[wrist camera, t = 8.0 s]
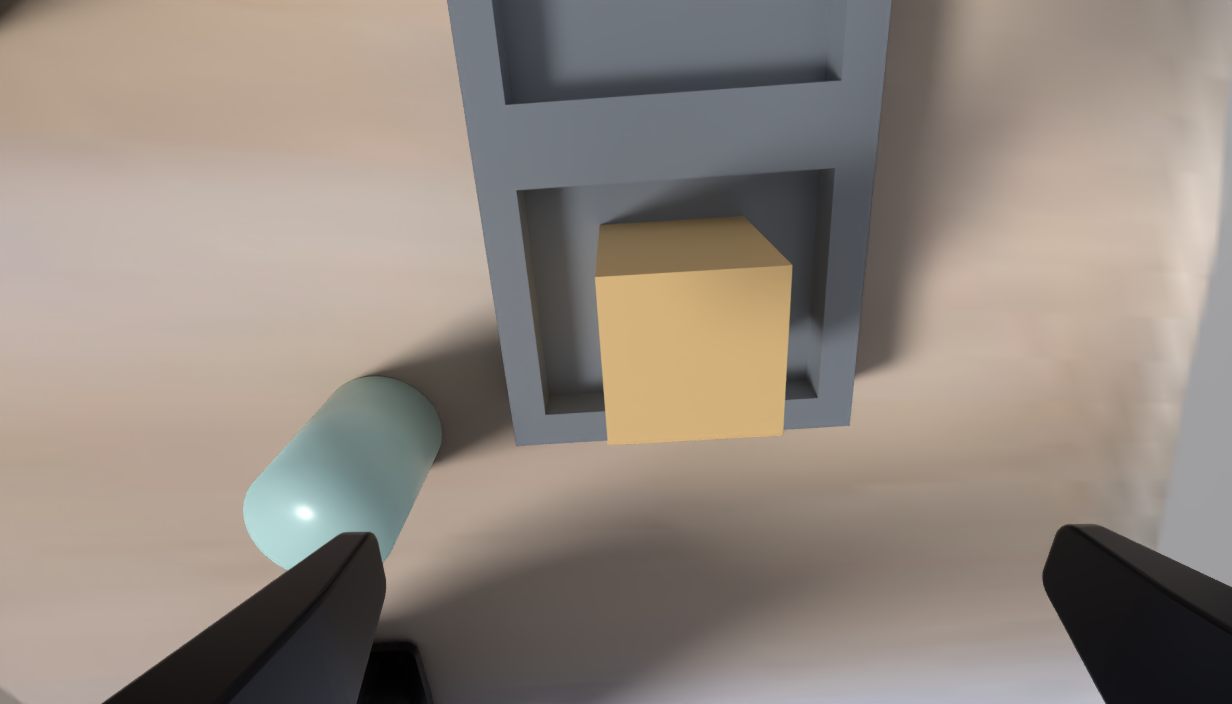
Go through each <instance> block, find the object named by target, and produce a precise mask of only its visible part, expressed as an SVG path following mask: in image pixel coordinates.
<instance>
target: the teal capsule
mask: <svg viewBox="0 0 1232 704" xmlns="http://www.w3.org/2000/svg"><path fill="white" fill-rule="evenodd" d="M441 441H442V426H441V422H440V419H439V416H438V414H437V412H436V410H435V408H434V407H433V405H432V404H431V403H430V402H429V400H428V399H427V398H426V397H425V396H424V395H423V394H422V393H420V392H419V391H418V390H416V389H415V388H413V387H412V386H410V385H408V384H406V383H404V382H402V381H399V380H396V379H392V378H388V377H381V376H368V377H361V378H358V379H354V380H352V381H349V382H347V383H346V384H344V385H342V386H341V387H340V388H338V389H337V390H336V391H335V392H334V394H333V395H332V396H331V397H330V398H329V399H328V400H327V401H326V402H325V404H324V405H323V406H322V407H321V408H320V409H319V410H318V411H317V412H316V414H315V415H314V416H313V417H312V418H311V419H310V420H309V421H308V422H307V424H306V425H305V426H304V427H303V428H302V429H301V430H300V431H299V432H298V434H297V435H296V436H295V437H294V438H293V439H292V440H291V441H290V442H289V443H288V445H287V446H286V447H285V448H284V449H283V450H282V451H281V452H280V453H279V455H278V456H277V457H276V458H275V459H274V460H273V461H272V462H271V463H270V465H269V466H268V467H267V468H266V469H265V470H264V471H263V472H262V473H261V475H260V476H259V477H258V478H257V479H256V480H255V481H254V482H253V483H252V485H251V486H250V488H249V490H248V492H247V494H246V496H245V500H244V505H243V515H244V521H245V525H246V528H247V530H248V532H249V535H250V537H251V538H252V540H253V541H254V543H255V544H256V545H257V547H258V548H259V549H260V550H261V551H262V552H263V553H264V554H265V555H266V556H267V557H268V558H269V559H271V560H272V561H273V562H274V563H276V564H277V565H279V566H281V567H282V568H284V569H286V570H289V569H291V568H292V567H293V566H295V565H296V564H298V563H299V562H300V561H302V560H303V559H305V558H306V557H307V556H309V555H310V554H312V553H313V552H314V551H316V550H317V549H319V548H320V547H321V546H323V545H324V544H326V543H327V542H328V541H330V540H331V539H333V538H334V537H335V536H337V535H339V534H340V533H343V532H372V533H373V534H375V536H376V537H377V540H378V543H379V548H380V553H381V558H382V563H383V562H384V561H385V560H386V559H387V557H388V556H389V554H390V552H391V550H392V548H393V546H394V544H395V542H396V540H397V538H398V536H399V534H400V531H401V529H402V527H403V525H404V523H405V521H406V519H407V517H408V515H409V512H410V510H411V508H412V506H413V504H414V502H415V500H416V498H417V496H418V493H419V491H420V489H421V487H422V485H423V483H424V481H425V479H426V477H427V474H428V472H429V470H430V468H431V466H432V464H433V462H434V460H435V457H436V455H437V453H438V451H439V449H440V446H441Z"/></svg>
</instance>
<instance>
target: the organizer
mask: <svg viewBox="0 0 1232 704" xmlns="http://www.w3.org/2000/svg"><path fill="white" fill-rule="evenodd" d="M891 3H892V0H447V4H448V10H449V16H450V23H451V29H452V36H453V42H454V49H455V55H456V61H457V68H458V74H459V81H460V87H461V94H462V100H463V107H464V113H465V119H466V126H467V132H468V139H469V145H470V152H471V158H472V164H473V171H474V177H475V184H476V190H477V197H478V203H479V210H480V216H481V222H482V229H483V235H484V242H485V248H486V255H487V261H488V267H489V274H490V280H491V287H492V293H493V300H494V306H495V313H496V319H497V325H498V332H499V338H500V345H501V351H502V358H503V364H504V370H505V377H506V383H507V390H508V396H509V403H510V409H511V416H512V422H513V428H514V435H515V441H516V446H524V445H540V444H557V443H573V442H590V441H606V440H607V427H606V414H605V401H604V388H603V375H602V362H601V349H600V336H599V324H598V311H597V298H596V285H595V271H596V259H597V248H598V236H599V225H609V224H625V223H641V222H657V221H673V220H689V219H705V218H721V217H737V216H744V217H745V218H746V219H747V220H748V221H749V222H750V223H751V224H752V225H753V226H754V227H755V228H756V229H757V230H758V231H759V232H760V233H761V234H762V235H763V236H764V237H765V238H766V239H767V240H768V241H769V242H770V243H771V244H772V245H773V246H774V247H775V248H776V249H777V250H778V251H779V252H780V253H781V254H782V255H783V256H784V257H785V258H786V259H787V260H788V261H789V262H790V263H791V264H792V265H793V266H792V283H791V301H790V319H789V336H788V354H787V372H786V390H785V407H784V425H783V430H787V429H803V428H820V427H836V426H850V416H851V406H852V396H853V386H854V376H855V366H856V356H857V346H858V336H859V326H860V315H861V305H862V295H863V285H864V275H865V265H866V255H867V245H868V235H869V225H870V215H871V205H872V194H873V184H874V174H875V164H876V154H877V144H878V134H879V124H880V114H881V104H882V94H883V84H884V74H885V63H886V53H887V43H888V33H889V23H890V13H891Z"/></svg>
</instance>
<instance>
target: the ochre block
mask: <svg viewBox="0 0 1232 704" xmlns="http://www.w3.org/2000/svg"><path fill="white" fill-rule="evenodd" d="M792 266H793V265H792V264H791V263H790V262H789V261H788V260H787V259H786V258H785V257H784V256H783V255H782V254H781V253H780V252H779V251H778V250H777V249H776V248H775V247H774V246H773V245H772V244H771V243H770V242H769V241H768V240H767V239H766V238H765V237H764V236H763V235H762V234H761V233H760V232H759V231H758V230H757V229H756V228H755V227H754V226H753V225H752V224H751V223H750V222H749V221H748V220H747V219H746V218H745V217H744V216H737V217H721V218H705V219H689V220H673V221H657V222H641V223H625V224H609V225H599V236H598V248H597V259H596V271H595V285H596V298H597V311H598V324H599V336H600V349H601V362H602V375H603V388H604V401H605V414H606V427H607V440H608V445H620V444H638V443H656V442H674V441H692V440H710V439H728V438H746V437H764V436H782V435H783V425H784V407H785V390H786V372H787V354H788V336H789V319H790V301H791V283H792Z"/></svg>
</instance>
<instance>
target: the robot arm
mask: <svg viewBox="0 0 1232 704" xmlns="http://www.w3.org/2000/svg"><path fill="white" fill-rule="evenodd" d="M1042 579H1043V585H1044V588H1045V591H1046V593H1047V595H1048V597H1049V599H1050V601H1051V603H1052V605H1053V607H1054V608H1055V610H1056V612H1057V614H1058V616H1059V618H1060V620H1061V622H1062V623H1063V625H1064V627H1065V629H1066V631H1067V633H1068V635H1069V637H1070V639H1071V640H1072V642H1073V644H1074V646H1075V648H1076V650H1077V652H1078V654H1079V655H1080V657H1081V659H1082V661H1083V663H1084V665H1085V667H1086V669H1087V671H1088V672H1089V674H1090V676H1091V678H1092V680H1093V682H1094V684H1095V686H1096V687H1097V689H1098V691H1099V693H1100V695H1101V696H1102V698H1103V700H1104V702H1105V703H1106V704H1232V587H1230V586H1228V585H1226V584H1224V583H1222V582H1219V581H1217V580H1215V579H1213V578H1211V577H1209V576H1207V575H1204V574H1202V573H1200V572H1198V571H1196V570H1194V569H1191V568H1190V567H1188V566H1185V565H1183V564H1181V563H1179V562H1177V561H1175V560H1172V559H1171V558H1168V557H1166V556H1164V555H1162V554H1160V553H1158V552H1156V551H1153V550H1151V549H1149V548H1147V547H1145V546H1143V545H1141V544H1139V543H1136V542H1134V541H1132V540H1130V539H1128V538H1126V537H1124V536H1121V535H1119V534H1117V533H1115V532H1113V531H1111V530H1109V529H1107V528H1104V527H1102V526H1100V525H1095V524H1068V525H1064V526H1062V527H1061V528H1060V529H1059V530H1058V531H1057V533H1056V535H1055V538H1054V541H1053V543H1052V546H1051V549H1050V552H1049V555H1048V558H1047V560H1046V563H1045V566H1044V569H1043V575H1042ZM385 593H386V577H385V573H384V568H383V563H382V558H381V553H380V548H379V543H378V540H377V537H376V536H375V534H373V533H372V532H343V533H340V534H339V535H337V536H335V537H334V538H333V539H331V540H330V541H328V542H327V543H326V544H324V545H323V546H321V547H320V548H319V549H317V550H316V551H314V552H313V553H312V554H310V555H309V556H307V557H306V558H305V559H303V560H302V561H300V562H299V563H298V564H296V565H295V566H293V567H292V568H291V569H289V570H288V571H286V572H285V573H284V574H282V575H281V576H279V577H278V578H277V579H275V580H274V581H272V582H271V583H270V584H268V585H267V586H265V587H264V588H263V589H261V590H260V591H258V592H257V593H256V594H254V595H253V596H251V597H250V598H249V599H247V600H246V601H244V602H243V603H242V604H240V605H239V606H237V607H236V608H235V609H233V610H232V611H230V612H229V613H228V614H226V615H225V616H223V617H222V618H221V619H219V620H218V621H216V622H215V623H214V624H212V625H211V626H209V627H208V628H207V629H205V630H204V631H202V632H201V633H200V634H198V635H197V636H195V637H194V638H193V639H191V640H190V641H188V642H187V643H186V644H184V645H183V646H181V647H180V648H179V649H177V650H176V651H174V652H173V653H172V654H170V655H169V656H167V657H166V658H165V659H163V660H162V661H160V662H159V663H158V664H156V665H155V666H153V667H152V668H151V669H149V670H148V671H146V672H145V673H144V674H142V675H141V676H139V677H138V678H137V679H135V680H134V681H132V682H131V683H130V684H128V685H127V686H125V687H124V688H123V689H121V690H120V691H118V692H117V693H116V694H114V695H113V696H111V697H110V698H109V699H107V700H106V701H104V702H103V703H102V704H433V702H432V698H431V694H430V691H429V687H428V683H427V680H426V676H425V672H424V669H423V665H422V661H421V658H420V654H419V650H418V649H417V647H416V646H415V645H414V644H411V643H409V642H395V643H377V644H372V643H373V640H374V636H375V632H376V629H377V625H378V621H379V618H380V614H381V610H382V606H383V603H384V599H385Z"/></svg>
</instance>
